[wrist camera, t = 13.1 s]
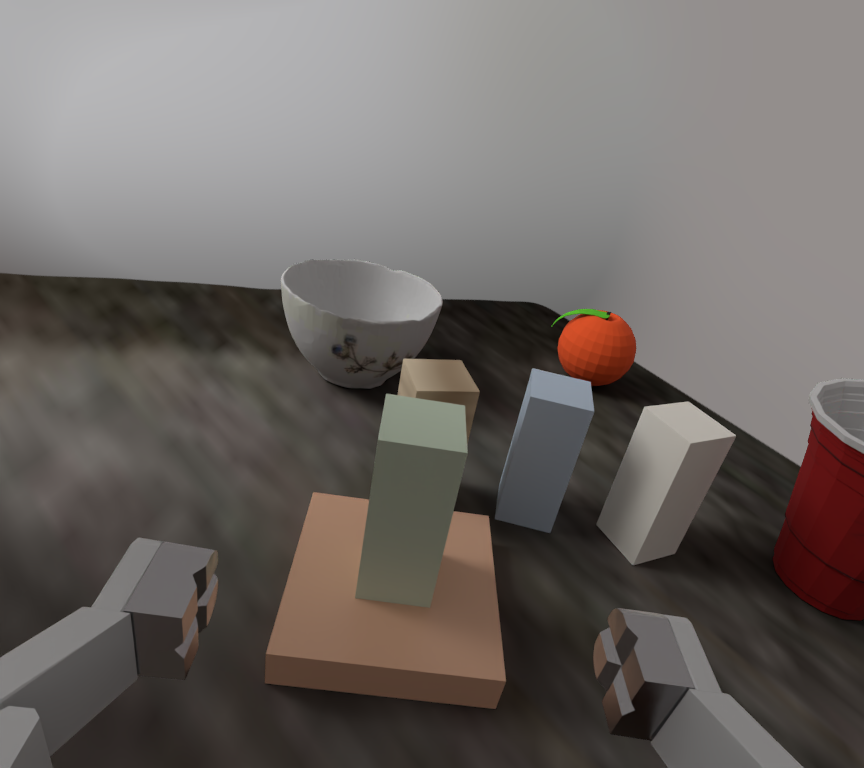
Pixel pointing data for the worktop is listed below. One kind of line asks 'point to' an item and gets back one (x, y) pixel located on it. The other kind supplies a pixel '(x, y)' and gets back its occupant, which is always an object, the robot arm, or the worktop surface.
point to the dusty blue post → (544, 449)
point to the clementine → (596, 346)
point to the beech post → (440, 384)
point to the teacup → (357, 318)
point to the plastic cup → (828, 506)
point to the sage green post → (411, 499)
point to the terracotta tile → (388, 617)
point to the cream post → (663, 480)
